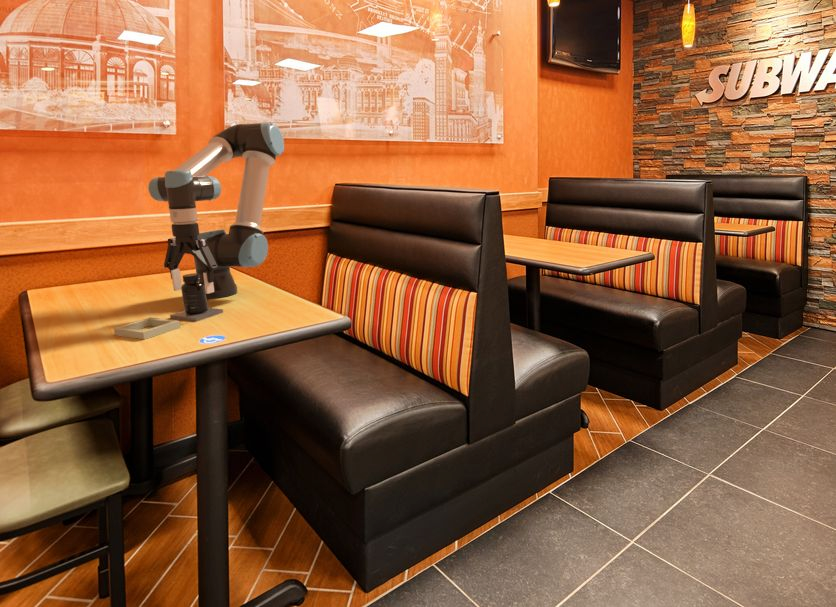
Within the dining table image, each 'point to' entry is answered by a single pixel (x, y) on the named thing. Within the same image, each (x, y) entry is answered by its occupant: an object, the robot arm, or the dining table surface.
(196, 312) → the supplement bottle
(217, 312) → the slate coaster
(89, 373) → the dining table surface
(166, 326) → the frame
